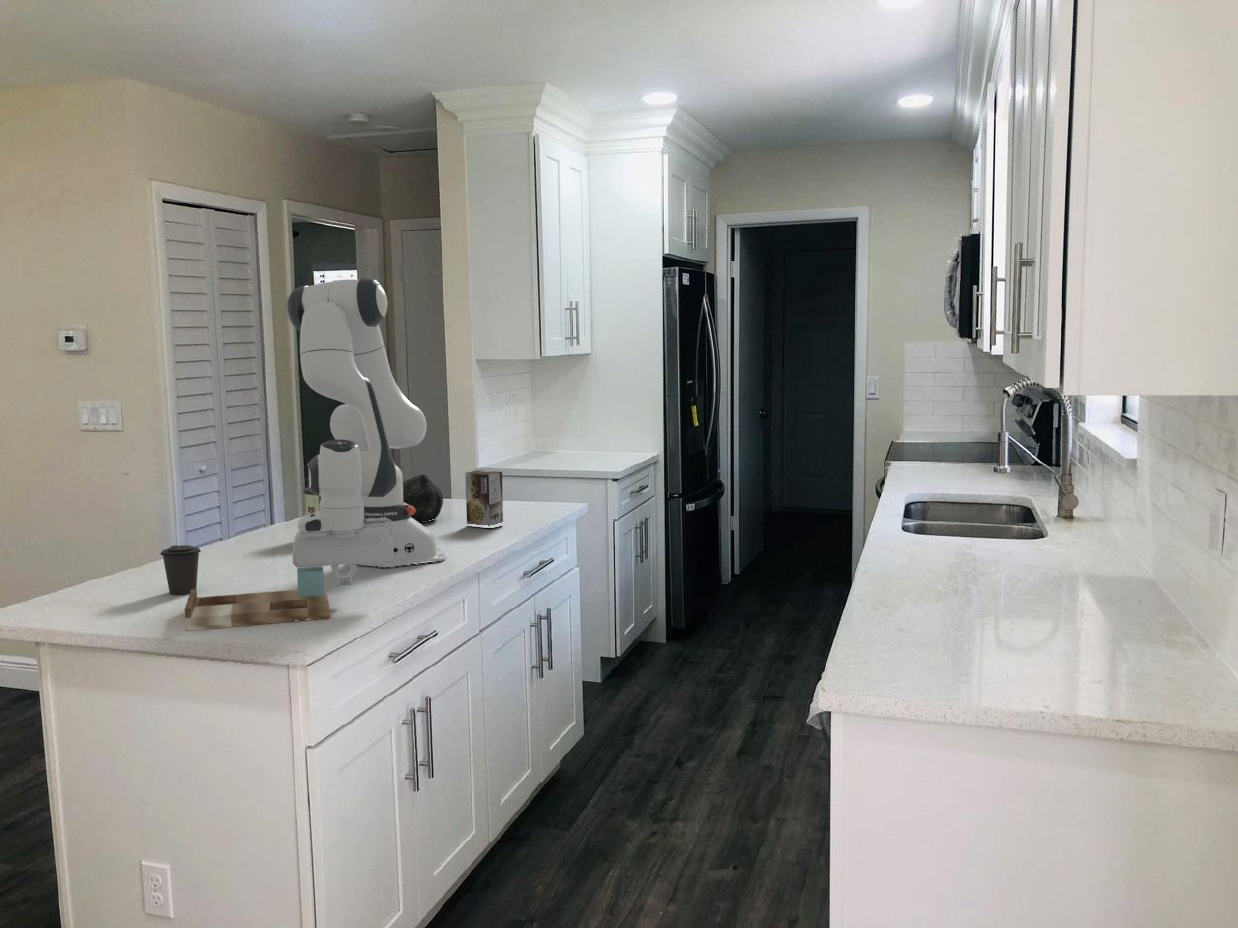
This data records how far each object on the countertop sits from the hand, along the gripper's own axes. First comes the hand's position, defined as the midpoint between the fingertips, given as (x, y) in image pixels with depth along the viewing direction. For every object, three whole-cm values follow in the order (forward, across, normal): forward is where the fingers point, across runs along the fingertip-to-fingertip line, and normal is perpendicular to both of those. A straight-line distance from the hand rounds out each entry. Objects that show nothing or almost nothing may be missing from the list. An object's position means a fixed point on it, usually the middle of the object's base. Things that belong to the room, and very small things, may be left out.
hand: (344, 584), depth 210 cm
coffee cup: (+4, +33, -20) cm, 39 cm away
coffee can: (+4, +1, -71) cm, 71 cm away
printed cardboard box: (+4, -44, -75) cm, 87 cm away
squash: (+4, -27, -91) cm, 95 cm away
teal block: (+1, +7, 0) cm, 7 cm away
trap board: (+4, +17, +4) cm, 18 cm away
